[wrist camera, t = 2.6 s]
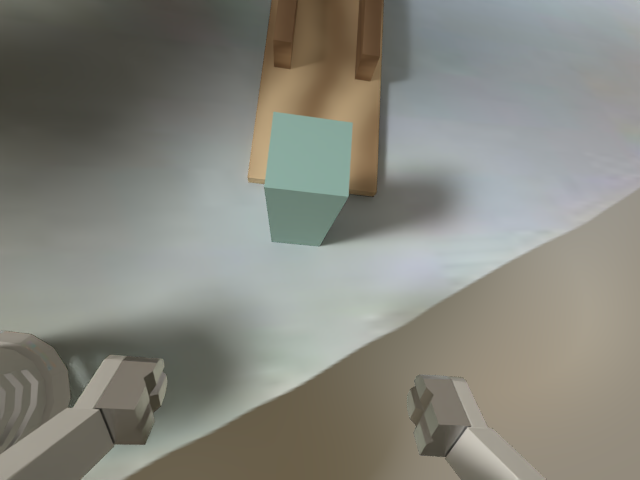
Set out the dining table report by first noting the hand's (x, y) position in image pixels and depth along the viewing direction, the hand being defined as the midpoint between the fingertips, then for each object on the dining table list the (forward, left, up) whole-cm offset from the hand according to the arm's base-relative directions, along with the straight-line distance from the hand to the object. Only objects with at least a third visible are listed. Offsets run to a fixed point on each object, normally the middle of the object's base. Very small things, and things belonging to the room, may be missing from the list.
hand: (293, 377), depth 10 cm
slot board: (+1, +25, -15) cm, 29 cm away
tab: (0, +10, -15) cm, 18 cm away
